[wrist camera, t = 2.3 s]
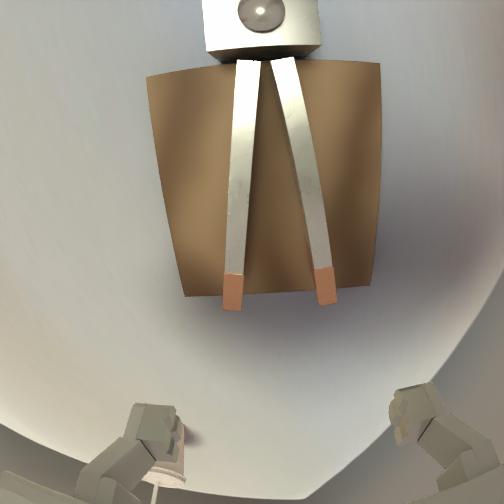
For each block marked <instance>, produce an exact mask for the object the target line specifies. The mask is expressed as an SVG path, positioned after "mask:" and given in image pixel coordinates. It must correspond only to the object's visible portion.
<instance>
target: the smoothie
mask: <svg viewBox="0 0 504 504" xmlns="http://www.w3.org/2000/svg"><path fill="white" fill-rule="evenodd" d="M177 445H178V447H179V454H178V460H177V463H172V462H160V461H156V463H155V465H154V466H153V467H152V468H151V469H150V470H149V471H148V473H147V474H146V475H145V476H144V477H143V478H142V479H144V480H145V481H147V482H149V483H152V484H155V485H154V490H153V495H152V501H151V504H155V503H156V497H157V492H158V486H163V487H169V488H180V487H183V486H184V485H185V481H186V478H185V477H184V425H183V424H182V436H181V439H180V440H179V441H178V442H177Z"/></svg>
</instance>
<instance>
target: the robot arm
mask: <svg viewBox="0 0 504 504" xmlns="http://www.w3.org/2000/svg"><path fill="white" fill-rule="evenodd" d="M394 398H395V399H394V400H393V401H391V403H390V406H389V419H390V422H391V424H392V425H393V426H395V427H396V429H395V432H394V436H395V439H396V442H397V445H398V447H399V446H402V445H407V444H412V443H416V442H417V443H418V444H419V445H420V446H421V447H422V448H423V449H424V450H425V451H426V452H427V453H428V454H429V455H430V456H431V457H432V458H434V459H435V460H436V461H437V462H438V463H439V464H440V465H441V466H442V467H443V468H444V469H445V471H444V472H443V473H442V474H441V475H440V476H439V477H438V478H437V480H436V482H437V486H438V489H439V493H436V494H433V495H430V496H428V497H425V498H422V499H418V500H415V501H412V502H409V503H405V504H504V464H502V465H501V463H500V461H499V459H498V456H497V454H496V451H495V449H494V447H493V444H492V442H491V440H490V439H488V438H487V437H486V436H484V435H483V434H481V433H480V432H478V431H477V430H475V429H474V428H472V427H471V426H470V425H468V424H467V423H465V422H463V421H462V420H461V419H459V418H458V417H456V416H455V415H453V414H452V413H449V414H448V413H447V410H446V408H445V406H444V403H443V401H442V399H441V397H440V395H439V393H438V391H437V389H436V386H435V384H434V383H433V382H428V383H424V384H419V385H415V386H410V387H406V388H402V389H397V390H396V391H395V393H394ZM181 436H182V423H181V420H180V417H178V416H177V415H176V409H175V407H174V406H167V405H153V404H143V403H135V404H134V405H133V407H132V410H131V413H130V416H129V419H128V423H127V426H126V429H125V433H124V436H123V437H119V438H118V439H117V440H116V441H115V442H114V443H112V444H111V445H110V446H109V447H108V448H107V449H105V450H104V451H103V452H102V453H101V454H100V455H98V456H97V457H96V458H95V459H94V460H92V461H91V462H90V463H89V464H88V465H87V466H85V467H84V468H83V469H82V470H81V472H80V475H79V479H78V482H77V485H76V489H75V491H74V495H73V497H70V496H68V495H65V494H62V493H59V492H56V491H54V490H51V489H48V488H46V487H44V486H41V485H38V484H36V483H34V482H32V481H29V480H27V479H25V478H23V477H20V476H18V475H16V474H14V473H12V472H9V471H3V472H1V473H0V504H140V503H141V502H140V501H139V499H137V498H136V497H135V496H134V495H132V494H131V493H130V492H131V490H132V489H133V488H134V487H135V486H136V485H137V484H138V482H140V480H141V479H142V478H143V477H144V476H145V475H146V474H147V473H148V471H149V470H150V469H151V468H152V467H153V466H154V465H155V463H156V461H160V462H172V463H177V460H178V454H179V447H178V445H177V442H178V441H179V440H180V439H181Z"/></svg>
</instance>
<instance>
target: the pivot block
mask: <svg viewBox="0 0 504 504" xmlns="http://www.w3.org/2000/svg"><path fill="white" fill-rule="evenodd" d="M202 4H203V16H204V28H205V39H206V50H207V52H208V53H209V54H211V55H212V56H213V57H214V58H216V59H217V60H218V61H220V62H222V61H232V60H242V59H255V58H272V57H306V56H307V55H309V54H310V53H311V52H313V51H314V50H315V49H317V48H318V47H320V46H321V45H322V41H321V30H320V20H319V11H318V2H317V0H202Z"/></svg>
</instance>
